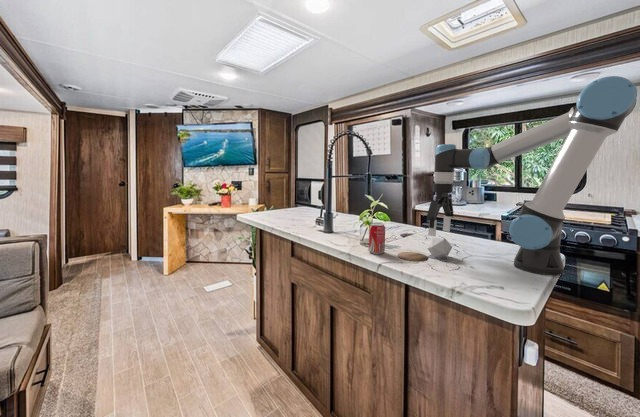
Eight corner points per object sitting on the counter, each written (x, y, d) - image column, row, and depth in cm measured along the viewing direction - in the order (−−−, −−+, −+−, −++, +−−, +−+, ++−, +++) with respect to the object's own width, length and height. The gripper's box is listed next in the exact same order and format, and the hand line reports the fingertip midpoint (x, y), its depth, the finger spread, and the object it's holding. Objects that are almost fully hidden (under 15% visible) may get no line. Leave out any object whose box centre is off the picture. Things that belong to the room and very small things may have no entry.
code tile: (452, 257, 125) (452, 257, 125) (444, 261, 120) (444, 260, 120) (434, 253, 131) (434, 253, 131) (425, 257, 125) (425, 256, 125)
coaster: (432, 257, 125) (432, 256, 125) (418, 263, 117) (418, 261, 117) (406, 251, 134) (406, 250, 134) (392, 256, 126) (392, 255, 125)
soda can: (386, 252, 133) (387, 223, 131) (381, 255, 127) (382, 226, 125) (372, 249, 137) (373, 222, 135) (365, 253, 131) (366, 224, 129)
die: (448, 263, 119) (458, 241, 121) (428, 251, 120) (439, 230, 122) (439, 264, 127) (449, 244, 129) (421, 253, 128) (431, 233, 130)
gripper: (446, 181, 132) (443, 228, 135) (419, 183, 115) (416, 236, 118) (464, 182, 127) (460, 230, 130) (438, 184, 110) (434, 239, 113)
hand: (439, 233), depth 124 cm, fingers open, 13 cm apart
